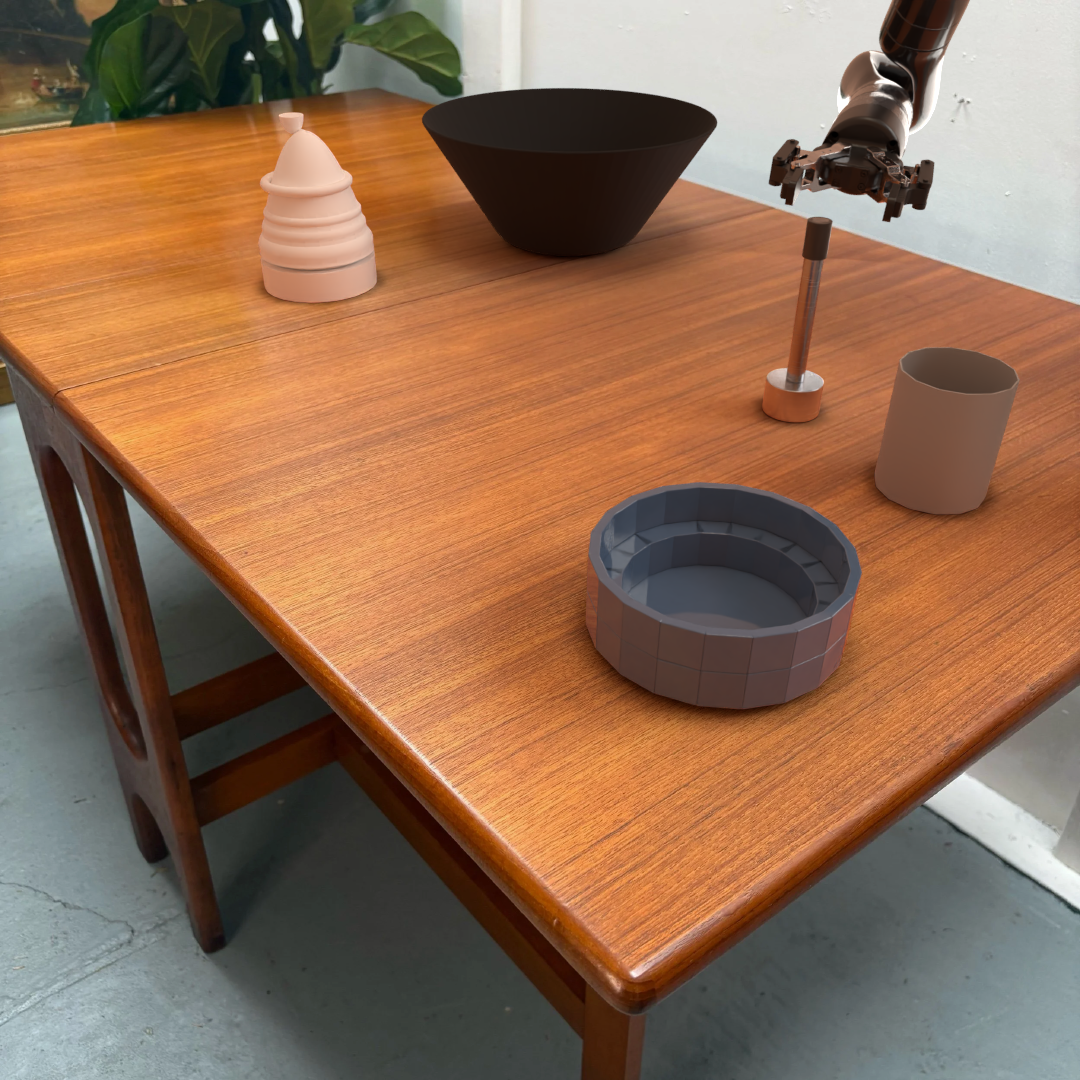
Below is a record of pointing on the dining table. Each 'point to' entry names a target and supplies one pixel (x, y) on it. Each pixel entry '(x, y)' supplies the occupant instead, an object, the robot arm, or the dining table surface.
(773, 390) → the metal rod on disc
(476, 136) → the bowl
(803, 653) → the bowl
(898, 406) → the cup
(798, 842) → the dining table surface
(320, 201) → the honey pot
